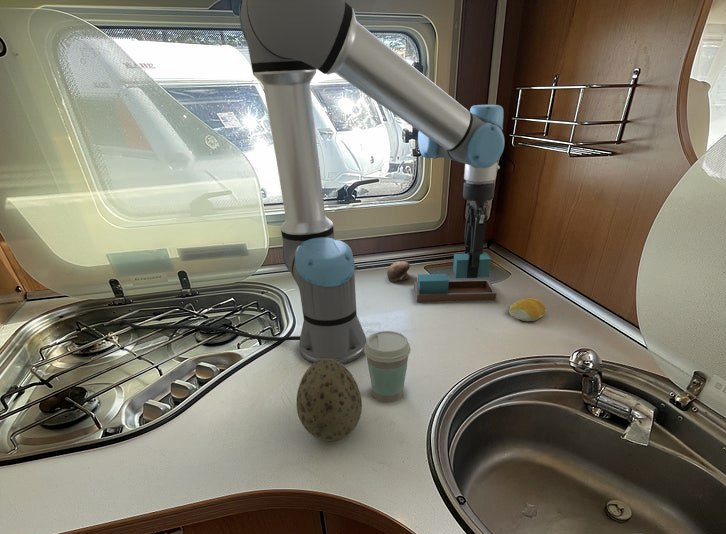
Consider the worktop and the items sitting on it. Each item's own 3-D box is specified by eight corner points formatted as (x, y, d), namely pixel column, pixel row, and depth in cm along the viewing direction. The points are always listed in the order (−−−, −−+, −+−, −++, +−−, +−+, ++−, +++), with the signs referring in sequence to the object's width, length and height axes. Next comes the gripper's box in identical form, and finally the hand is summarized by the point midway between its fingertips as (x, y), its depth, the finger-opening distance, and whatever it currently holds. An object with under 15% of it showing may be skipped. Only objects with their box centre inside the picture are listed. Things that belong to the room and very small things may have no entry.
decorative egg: (369, 416, 77) (366, 346, 69) (355, 459, 69) (349, 385, 60) (313, 410, 79) (303, 341, 70) (292, 451, 71) (278, 378, 62)
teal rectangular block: (455, 278, 114) (457, 260, 111) (452, 271, 118) (454, 253, 115) (488, 277, 114) (491, 259, 111) (484, 270, 118) (487, 252, 115)
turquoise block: (418, 298, 117) (419, 281, 114) (417, 291, 121) (417, 274, 118) (447, 297, 117) (449, 280, 114) (445, 290, 121) (446, 273, 118)
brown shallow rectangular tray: (416, 303, 116) (417, 295, 114) (413, 289, 123) (414, 281, 122) (495, 301, 116) (496, 293, 114) (487, 287, 124) (488, 279, 122)
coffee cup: (380, 376, 88) (379, 325, 81) (417, 388, 84) (419, 336, 77) (357, 398, 82) (354, 345, 75) (395, 412, 78) (396, 358, 71)
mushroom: (420, 268, 128) (408, 252, 125) (408, 286, 124) (395, 270, 121) (403, 274, 134) (391, 259, 131) (391, 292, 131) (378, 276, 128)
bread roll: (549, 313, 110) (552, 299, 107) (532, 325, 105) (535, 310, 102) (520, 304, 114) (523, 290, 112) (503, 315, 109) (505, 301, 107)
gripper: (504, 188, 95) (491, 286, 109) (486, 173, 109) (477, 261, 123) (471, 189, 95) (462, 287, 109) (458, 174, 109) (451, 262, 123)
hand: (470, 273), depth 116 cm, fingers closed on teal rectangular block, 5 cm apart
